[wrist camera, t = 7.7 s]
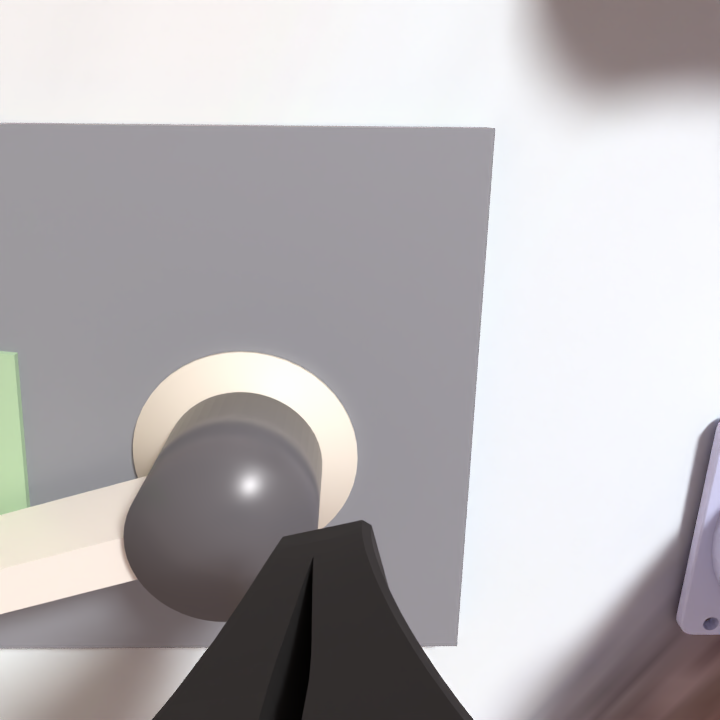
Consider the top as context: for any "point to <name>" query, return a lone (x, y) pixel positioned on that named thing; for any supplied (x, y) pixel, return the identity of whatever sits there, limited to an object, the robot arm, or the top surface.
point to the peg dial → (176, 515)
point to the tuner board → (244, 331)
